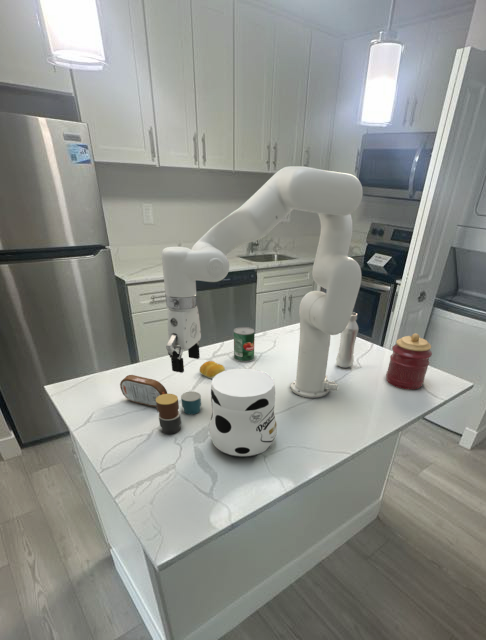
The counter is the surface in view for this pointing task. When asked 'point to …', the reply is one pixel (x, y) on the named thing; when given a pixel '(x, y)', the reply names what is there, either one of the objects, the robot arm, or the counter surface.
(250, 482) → the counter surface
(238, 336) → the canned tomato
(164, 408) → the cylinder
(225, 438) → the milk container
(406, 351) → the kitchen canister
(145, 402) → the tin
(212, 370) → the bread roll
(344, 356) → the plastic bottle
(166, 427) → the black pod
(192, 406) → the cylinder
